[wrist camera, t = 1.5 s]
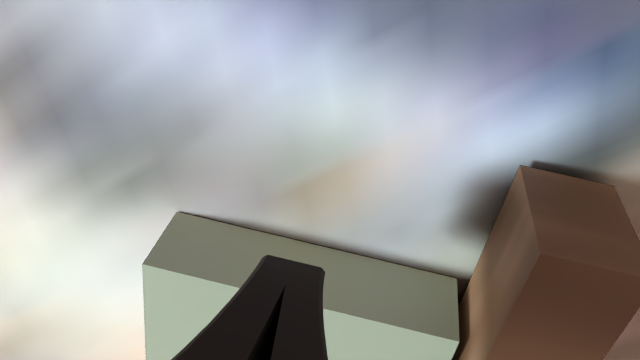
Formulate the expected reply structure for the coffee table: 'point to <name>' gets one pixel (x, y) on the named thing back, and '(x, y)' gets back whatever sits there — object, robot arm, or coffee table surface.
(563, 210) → the folding leg
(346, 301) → the stool seat
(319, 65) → the coffee table surface
